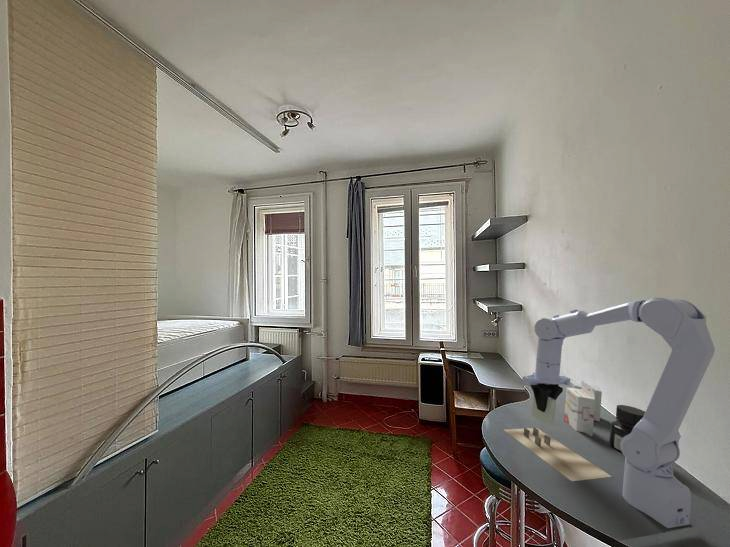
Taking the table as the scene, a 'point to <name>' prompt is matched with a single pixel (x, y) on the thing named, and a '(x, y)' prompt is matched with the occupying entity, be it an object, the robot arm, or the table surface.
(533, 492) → the table surface
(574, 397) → the ink cartridge box
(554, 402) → the pale green flat block
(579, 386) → the small box
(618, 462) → the table surface
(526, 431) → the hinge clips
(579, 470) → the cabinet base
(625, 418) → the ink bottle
